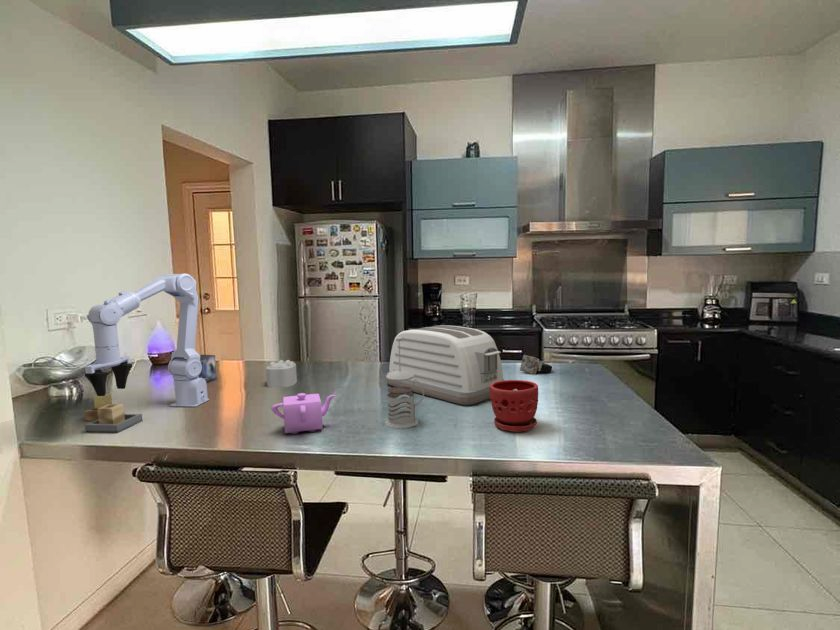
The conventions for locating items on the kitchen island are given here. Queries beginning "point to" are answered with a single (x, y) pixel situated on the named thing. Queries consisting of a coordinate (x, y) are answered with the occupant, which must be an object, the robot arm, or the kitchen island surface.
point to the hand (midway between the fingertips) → (111, 392)
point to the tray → (114, 425)
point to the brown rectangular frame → (91, 414)
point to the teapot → (302, 412)
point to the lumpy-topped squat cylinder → (281, 374)
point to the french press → (401, 399)
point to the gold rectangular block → (102, 401)
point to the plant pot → (514, 404)
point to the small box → (208, 368)
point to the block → (111, 414)
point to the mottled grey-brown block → (534, 365)
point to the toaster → (448, 363)
